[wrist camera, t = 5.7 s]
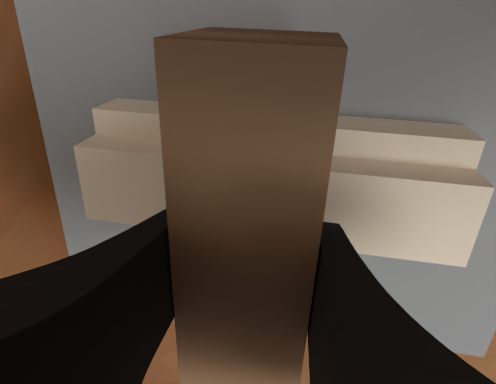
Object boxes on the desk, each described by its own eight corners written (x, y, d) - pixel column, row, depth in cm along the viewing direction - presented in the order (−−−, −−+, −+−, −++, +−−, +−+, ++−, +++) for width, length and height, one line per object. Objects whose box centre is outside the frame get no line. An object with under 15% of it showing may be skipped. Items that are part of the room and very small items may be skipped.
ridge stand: (654, -80, 11) (831, -129, 7) (476, 341, 19) (516, 427, 15) (14, -82, 15) (-101, -117, 11) (86, 281, 23) (35, 339, 19)
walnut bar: (297, 350, 15) (289, 453, 12) (214, 336, 16) (183, 431, 12) (339, 32, 10) (347, 47, 6) (210, 26, 10) (153, 37, 7)
